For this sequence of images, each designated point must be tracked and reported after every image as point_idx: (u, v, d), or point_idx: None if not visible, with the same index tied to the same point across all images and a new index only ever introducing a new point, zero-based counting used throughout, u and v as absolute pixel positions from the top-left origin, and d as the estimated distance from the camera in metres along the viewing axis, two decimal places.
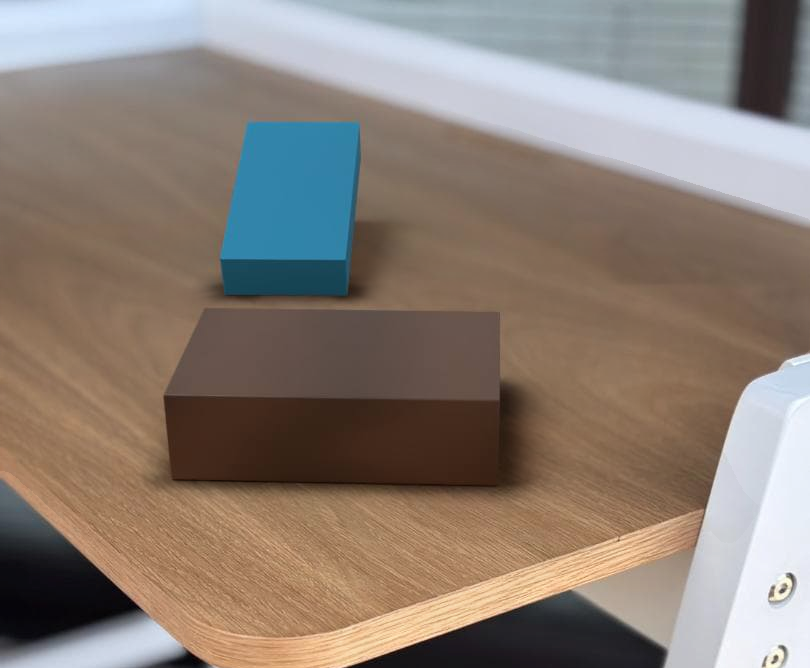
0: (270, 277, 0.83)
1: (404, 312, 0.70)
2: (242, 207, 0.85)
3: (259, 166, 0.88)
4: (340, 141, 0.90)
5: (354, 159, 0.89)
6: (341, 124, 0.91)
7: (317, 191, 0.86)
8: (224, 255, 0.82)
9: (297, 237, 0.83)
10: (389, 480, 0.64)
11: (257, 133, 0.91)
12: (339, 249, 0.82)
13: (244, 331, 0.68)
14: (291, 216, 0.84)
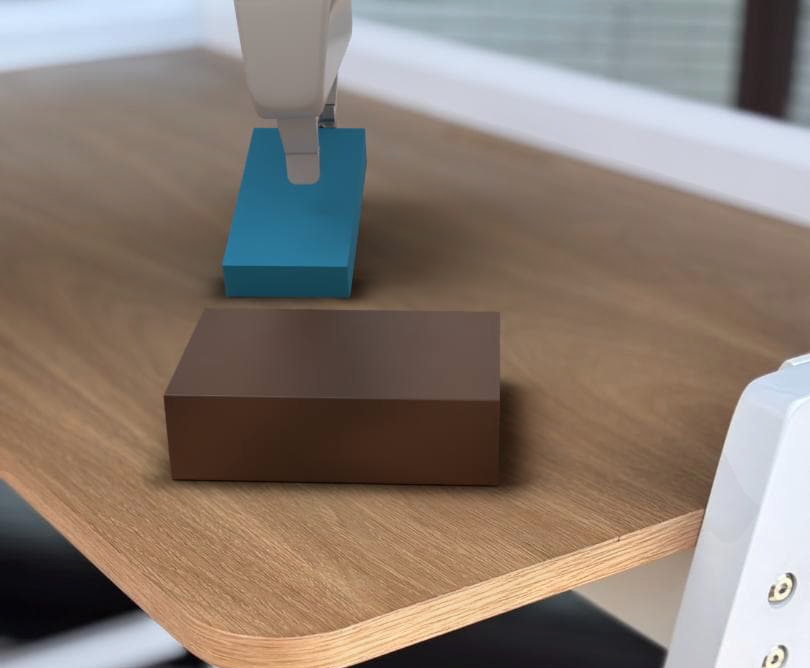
0: (272, 283, 0.83)
1: (404, 312, 0.70)
2: (246, 214, 0.85)
3: (264, 172, 0.88)
4: (345, 147, 0.90)
5: (359, 165, 0.89)
6: (347, 130, 0.91)
7: (321, 197, 0.86)
8: (226, 261, 0.82)
9: (300, 243, 0.83)
10: (389, 480, 0.64)
11: (263, 139, 0.91)
12: (341, 256, 0.82)
13: (244, 331, 0.68)
14: (294, 223, 0.85)
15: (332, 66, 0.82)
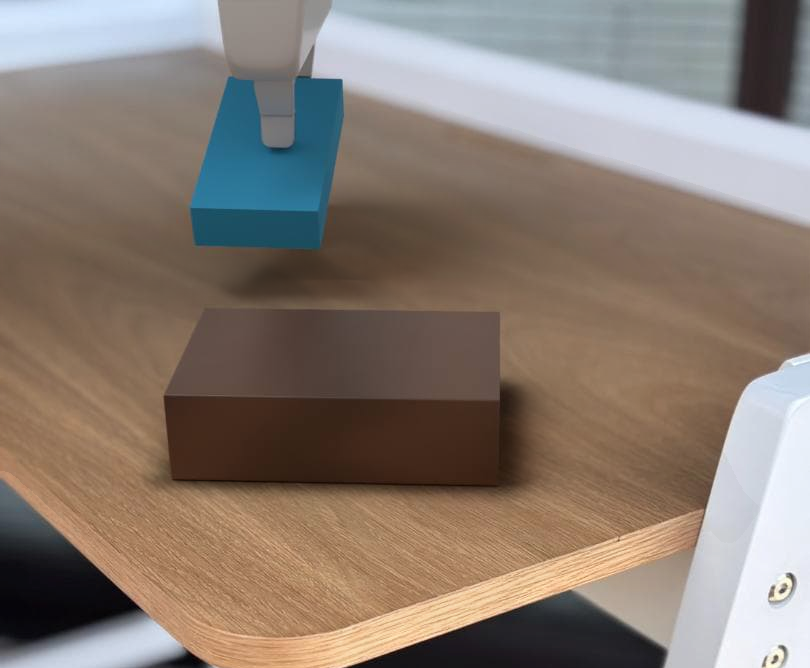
0: (241, 228, 0.80)
1: (404, 312, 0.70)
2: (216, 158, 0.83)
3: (237, 119, 0.86)
4: (321, 97, 0.88)
5: (334, 114, 0.86)
6: (324, 80, 0.89)
7: (294, 144, 0.84)
8: (194, 204, 0.80)
9: (270, 188, 0.81)
10: (389, 480, 0.64)
11: (237, 87, 0.89)
12: (312, 201, 0.80)
13: (244, 331, 0.68)
14: (265, 168, 0.82)
15: (310, 32, 0.81)
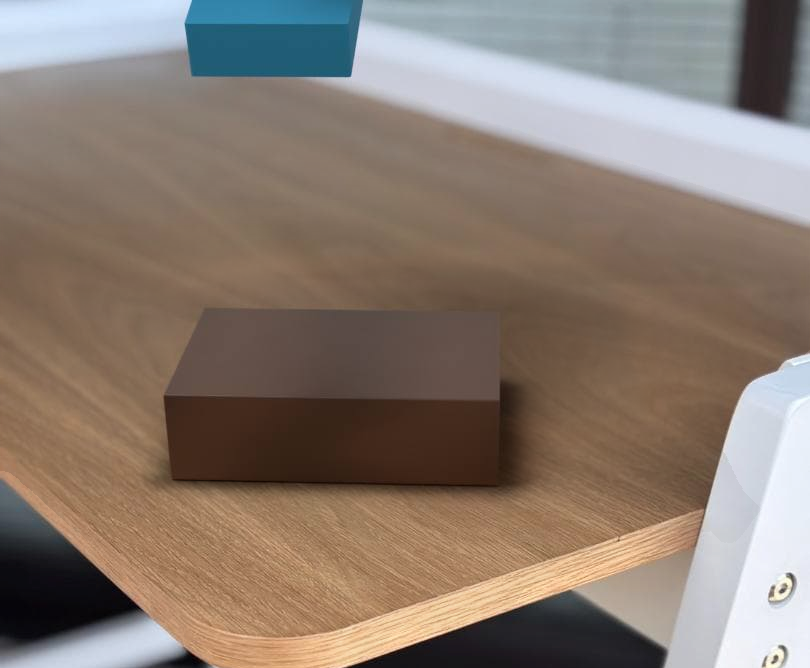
0: (250, 50, 0.63)
1: (404, 312, 0.70)
2: None
3: None
4: None
5: None
6: None
7: None
8: (190, 19, 0.63)
9: (286, 1, 0.64)
10: (389, 480, 0.64)
11: None
12: (340, 13, 0.63)
13: (244, 331, 0.68)
14: None
15: None
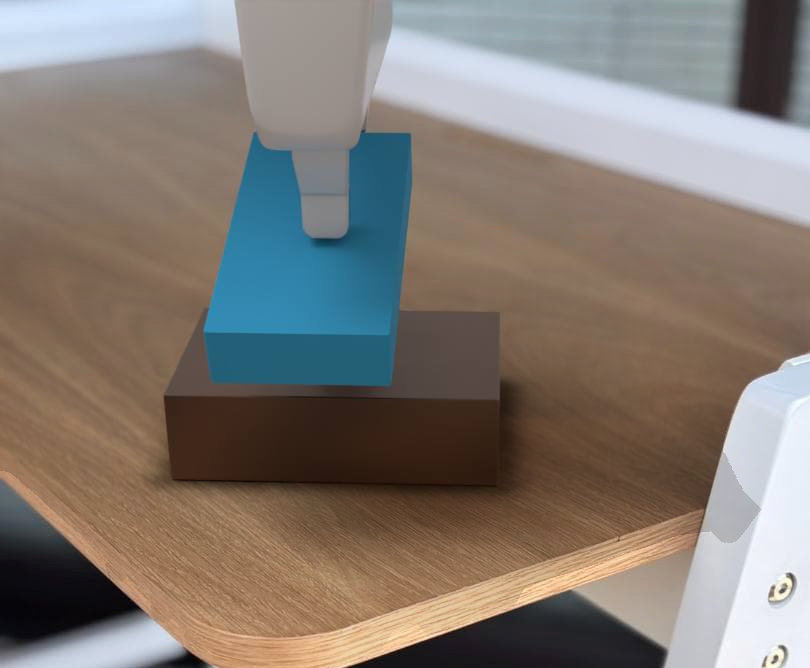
0: (278, 359, 0.56)
1: (404, 312, 0.70)
2: (240, 255, 0.59)
3: (267, 194, 0.62)
4: (383, 159, 0.63)
5: (403, 185, 0.62)
6: (385, 136, 0.65)
7: (349, 231, 0.60)
8: (210, 326, 0.55)
9: (318, 300, 0.56)
10: (389, 480, 0.64)
11: (266, 148, 0.64)
12: (380, 319, 0.55)
13: None
14: (310, 268, 0.58)
15: (371, 75, 0.57)
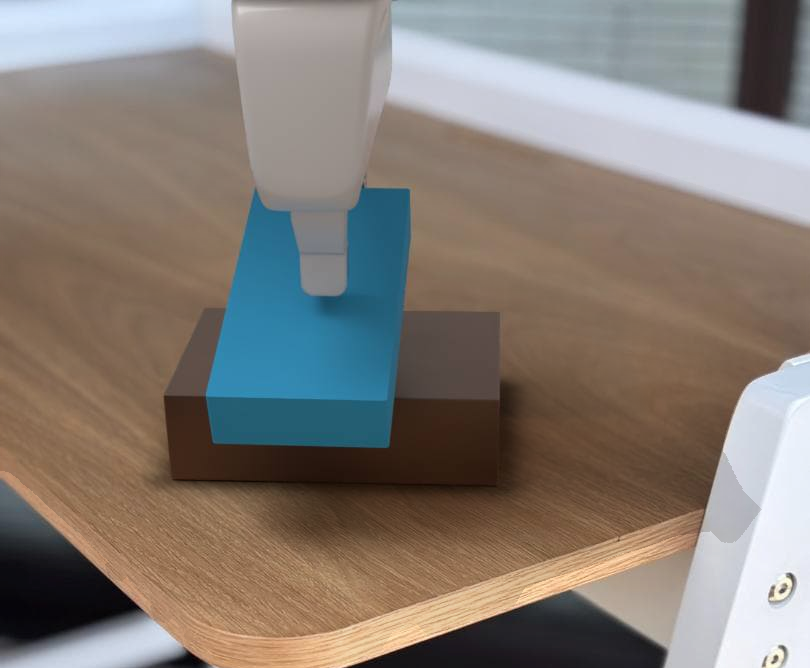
0: (278, 422, 0.57)
1: (404, 312, 0.70)
2: (242, 316, 0.60)
3: (268, 253, 0.63)
4: (383, 216, 0.65)
5: (402, 244, 0.63)
6: (384, 191, 0.66)
7: (349, 292, 0.61)
8: (212, 390, 0.57)
9: (318, 363, 0.58)
10: (389, 480, 0.64)
11: None
12: (378, 383, 0.57)
13: None
14: (310, 330, 0.59)
15: (370, 133, 0.58)
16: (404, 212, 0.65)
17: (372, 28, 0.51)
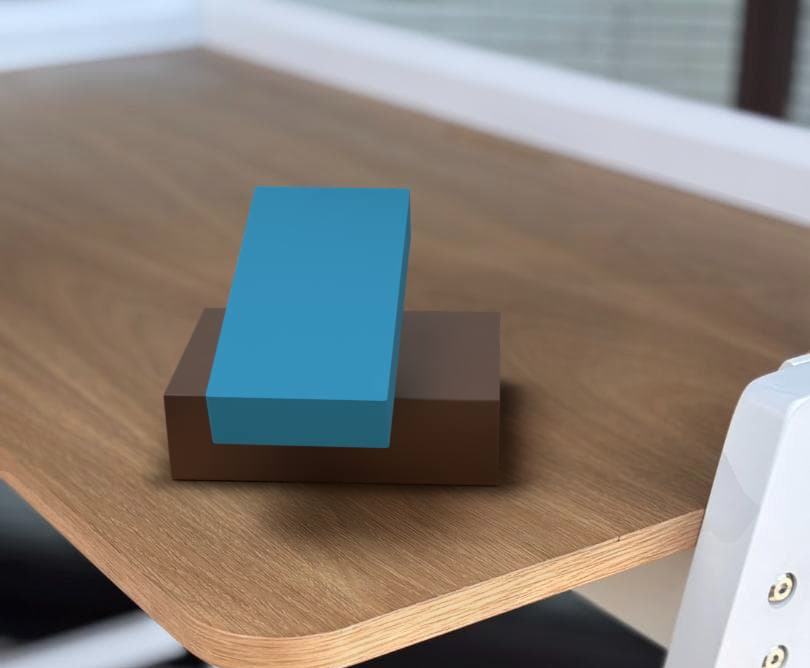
0: (278, 422, 0.57)
1: (404, 312, 0.70)
2: (242, 316, 0.60)
3: (268, 252, 0.63)
4: (383, 216, 0.65)
5: (402, 244, 0.63)
6: (384, 191, 0.66)
7: (349, 292, 0.61)
8: (212, 390, 0.57)
9: (318, 363, 0.58)
10: (389, 480, 0.64)
11: (267, 203, 0.65)
12: (378, 383, 0.57)
13: None
14: (310, 330, 0.59)
15: None
16: (404, 212, 0.65)
17: None
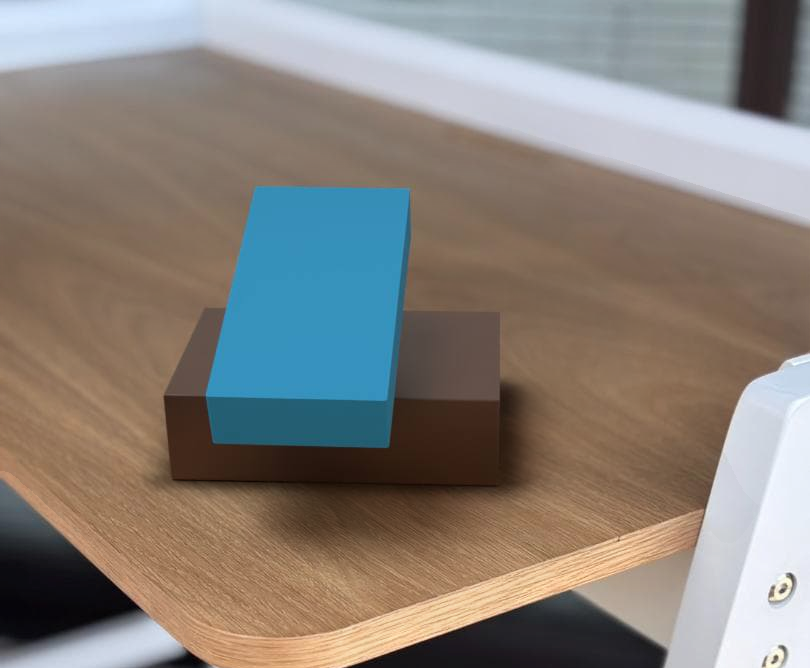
0: (278, 422, 0.57)
1: (404, 312, 0.70)
2: (242, 316, 0.60)
3: (268, 252, 0.63)
4: (383, 216, 0.65)
5: (402, 244, 0.63)
6: (384, 191, 0.66)
7: (349, 292, 0.61)
8: (212, 390, 0.57)
9: (318, 363, 0.58)
10: (389, 480, 0.64)
11: (267, 203, 0.65)
12: (378, 383, 0.57)
13: None
14: (310, 330, 0.59)
15: None
16: (404, 212, 0.65)
17: None
